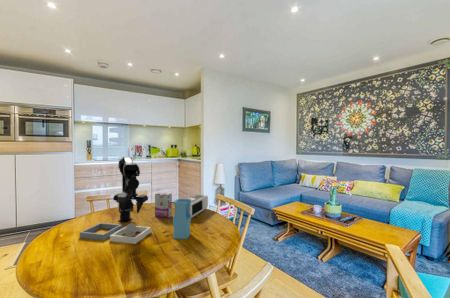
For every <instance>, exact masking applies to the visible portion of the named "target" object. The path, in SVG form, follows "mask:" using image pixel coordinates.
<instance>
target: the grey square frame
mask: <svg viewBox="0 0 450 298" xmlns="http://www.w3.org/2000/svg"><path fill="white" fill-rule="evenodd" d="M122 228H123V224H119V223H107V222H98V224H95V225H93V226H90V227H88V228H85V229H84V230H81V231H80V232H79V238H80V239H87V240H95V241H96V240H97V241H105V240H107V239H108V238H109V239H110V235H112V234H114V233H115V232H117V231H119V230H121V229H122ZM100 229H105V230H108V231H106V232H103V233H99V232H96V231H98V230H100Z"/></svg>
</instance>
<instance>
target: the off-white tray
mask: <svg viewBox="0 0 450 298" xmlns="http://www.w3.org/2000/svg"><path fill="white" fill-rule="evenodd" d="M127 226H128V225H126V226H124V227H122V229H121V230H119V231H117V232H115V233H114V234H112V235H110V237H109V241H110V242H113V243H114V242H115V243H123V244H133V245H136V244H138V242H141V240H143V239H144V238H145V237H146V236H148V235H149V234H151V233H152V227H151V226H143V225H142V226H140V225H138V226H137V225H135V226H136V229H137V230H136V233H139V234H138V235H136V236H132V237H128V236H126V234H125V230H126V227H127ZM124 234H125V235H124Z"/></svg>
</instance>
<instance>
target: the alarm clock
mask: <svg viewBox="0 0 450 298" xmlns="http://www.w3.org/2000/svg"><path fill="white" fill-rule="evenodd" d="M188 199H191V202H190V207H189V210H190V214H191V219H192V218H194V217H195V216H197V215H199V214H200V213H201V212H203V211H205V210H206V209H207V208H208V207H209V206H208V205H209V197H208V195H200V194H195V195H193V196H191V197H189V198H188Z"/></svg>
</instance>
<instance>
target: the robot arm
mask: <svg viewBox="0 0 450 298" xmlns="http://www.w3.org/2000/svg"><path fill="white" fill-rule="evenodd" d="M117 165H118V166H117V167H118V169H119V172H120V174H121V190H122V192H120V193H116V194H114V196H113V198H112V199H113V201H115V202H116V203H117V204H118V205H117V207H118V208H117V209H118V213H119V214H120V215H119V220H118V221H117V222H122V223H128V222H129V221H132V220H133V217H131V212H133V211H134V206H135V205H134V202H133V201H136V202H135V204H136V214H139V213H140V211H141V209H142V206H143V204H144V203H145V202H148V200H149V197H148V195H147V194H141V195H138V193H137V189H138V188H139V185H140V181H139V180H138V178H137V177H139V176H140V174H141V172H140V171H141V170H140V167H139V165H138V163H136V162H133V160H132V156H122V158H121V159H120V160H118V164H117Z"/></svg>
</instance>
